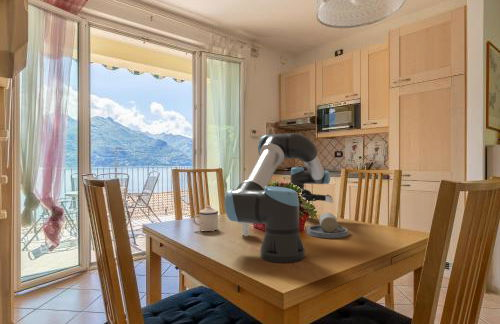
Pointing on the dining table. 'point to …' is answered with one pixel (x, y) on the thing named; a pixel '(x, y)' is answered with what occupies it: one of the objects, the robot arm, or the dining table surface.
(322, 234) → the saucer
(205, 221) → the teacup with lid
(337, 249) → the dining table surface
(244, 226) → the strainer
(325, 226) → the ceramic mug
